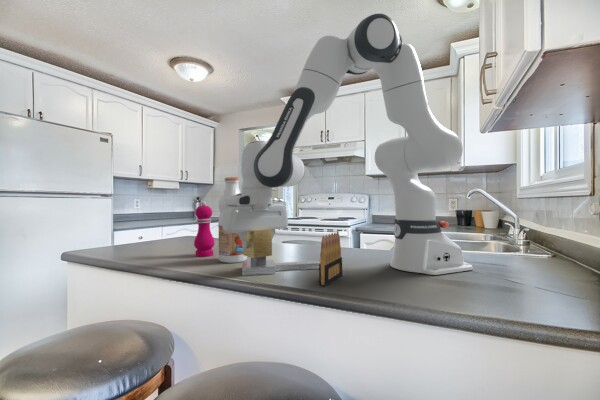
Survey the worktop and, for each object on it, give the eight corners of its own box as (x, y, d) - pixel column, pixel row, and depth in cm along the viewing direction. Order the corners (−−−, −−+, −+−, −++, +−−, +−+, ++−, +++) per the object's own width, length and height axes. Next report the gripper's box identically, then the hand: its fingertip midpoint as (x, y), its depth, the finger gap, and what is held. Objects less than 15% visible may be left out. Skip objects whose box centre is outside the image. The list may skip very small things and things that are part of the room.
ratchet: (328, 263, 94) (327, 242, 94) (336, 270, 85) (336, 247, 85) (243, 267, 90) (242, 246, 90) (242, 275, 81) (241, 251, 81)
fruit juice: (224, 257, 106) (223, 178, 105) (250, 257, 105) (249, 178, 105) (214, 263, 96) (213, 177, 96) (243, 263, 96) (242, 176, 95)
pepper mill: (197, 258, 105) (196, 201, 104) (191, 255, 110) (190, 201, 110) (217, 255, 109) (216, 201, 109) (210, 252, 115) (209, 200, 114)
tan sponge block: (260, 252, 90) (260, 227, 90) (272, 255, 85) (271, 229, 85) (243, 255, 86) (242, 229, 86) (254, 258, 82) (253, 231, 81)
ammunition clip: (325, 286, 70) (325, 236, 70) (318, 285, 71) (318, 235, 71) (342, 275, 79) (342, 231, 79) (336, 275, 80) (335, 231, 80)
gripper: (279, 198, 95) (280, 241, 95) (219, 198, 81) (220, 249, 82) (292, 198, 90) (292, 243, 90) (230, 199, 77) (230, 252, 77)
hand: (257, 246), depth 86 cm, fingers closed on tan sponge block, 6 cm apart
